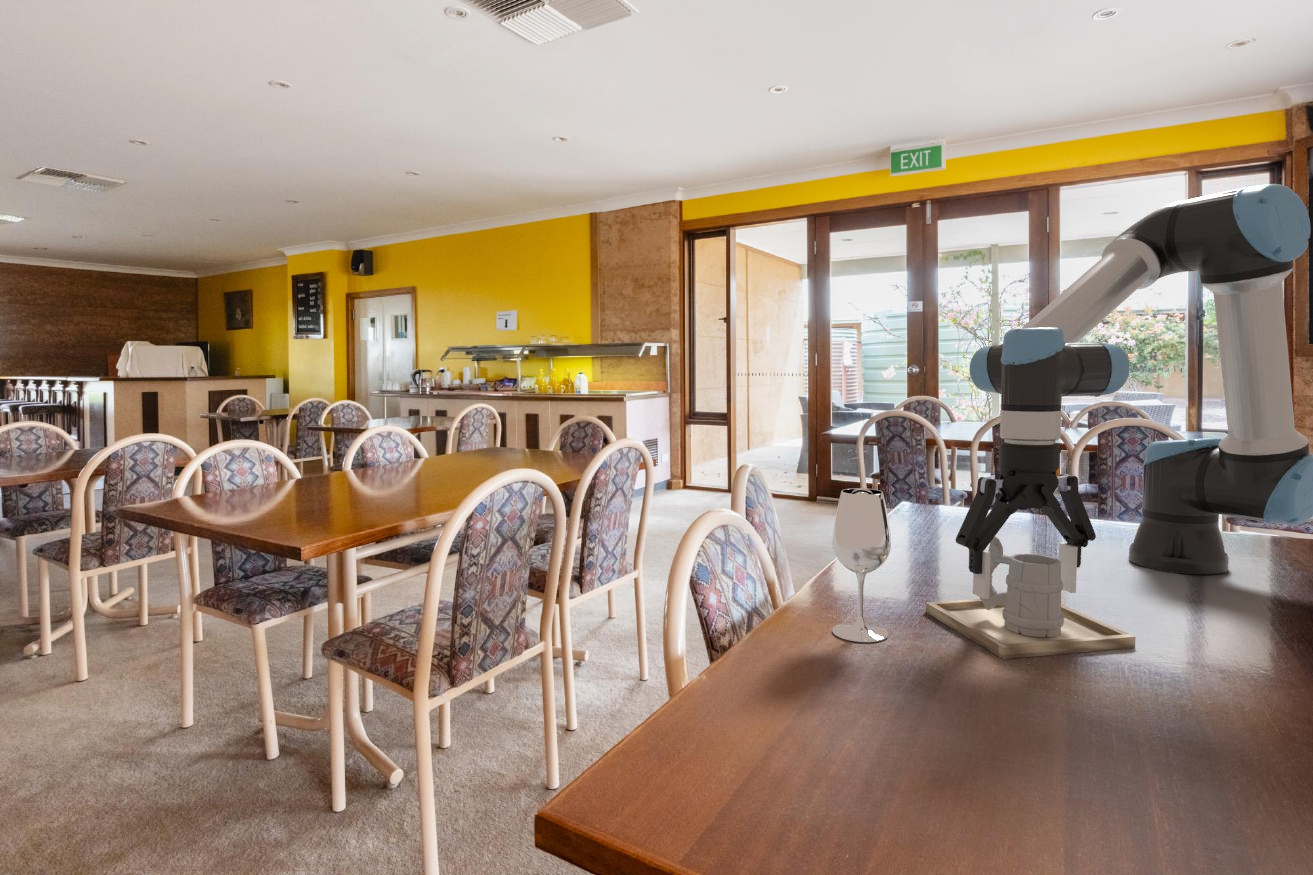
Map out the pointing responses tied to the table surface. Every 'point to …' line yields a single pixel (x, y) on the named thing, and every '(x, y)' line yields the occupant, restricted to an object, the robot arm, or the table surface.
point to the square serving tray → (1006, 644)
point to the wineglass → (861, 550)
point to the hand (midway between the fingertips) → (1024, 593)
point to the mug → (1028, 592)
